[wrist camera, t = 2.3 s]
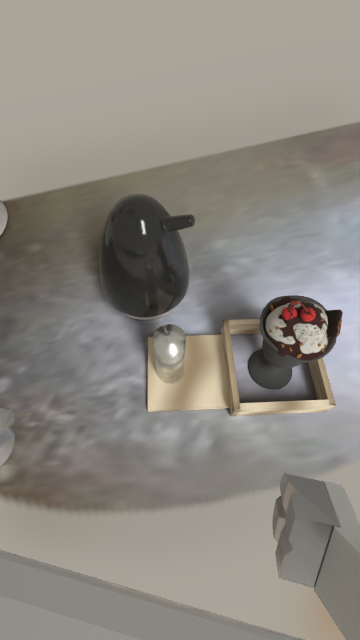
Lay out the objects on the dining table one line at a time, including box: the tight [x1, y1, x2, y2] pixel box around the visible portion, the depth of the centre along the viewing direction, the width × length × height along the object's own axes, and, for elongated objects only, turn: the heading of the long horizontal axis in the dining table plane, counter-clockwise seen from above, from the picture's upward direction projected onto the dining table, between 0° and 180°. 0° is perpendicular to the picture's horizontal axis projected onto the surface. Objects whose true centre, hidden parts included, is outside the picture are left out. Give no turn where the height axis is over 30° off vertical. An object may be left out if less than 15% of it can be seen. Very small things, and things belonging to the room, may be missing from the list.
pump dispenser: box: [99, 194, 195, 320], centre depth 36 cm, size 10×10×15 cm
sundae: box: [248, 296, 342, 389], centre depth 32 cm, size 7×7×15 cm
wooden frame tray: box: [148, 319, 336, 416], centre depth 34 cm, size 19×10×8 cm, turn 93°
